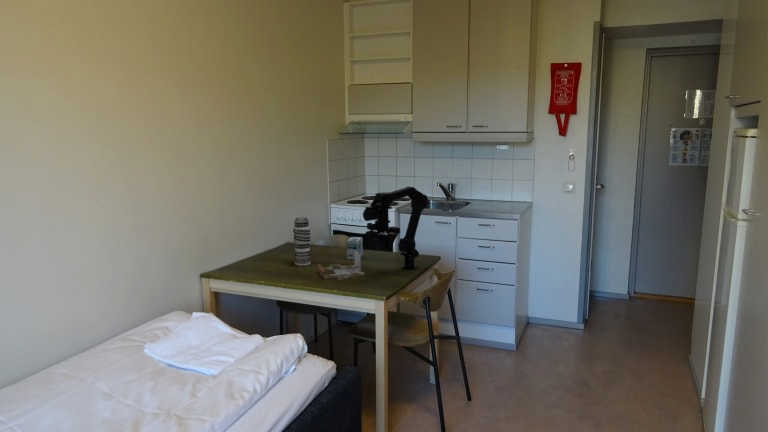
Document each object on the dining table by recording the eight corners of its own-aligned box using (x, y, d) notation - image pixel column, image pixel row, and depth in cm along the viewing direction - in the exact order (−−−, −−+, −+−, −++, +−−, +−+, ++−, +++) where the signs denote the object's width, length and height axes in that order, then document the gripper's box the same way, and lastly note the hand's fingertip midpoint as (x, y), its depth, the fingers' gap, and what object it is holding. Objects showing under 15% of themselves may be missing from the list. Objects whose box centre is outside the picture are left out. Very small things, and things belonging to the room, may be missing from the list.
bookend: (356, 269, 270) (356, 250, 268) (360, 274, 261) (360, 255, 259) (333, 271, 266) (333, 252, 265) (337, 276, 257) (336, 256, 256)
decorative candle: (290, 264, 279) (289, 218, 275) (301, 260, 288) (299, 215, 283) (304, 266, 275) (303, 219, 271) (314, 262, 283) (313, 217, 279)
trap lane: (356, 265, 276) (356, 259, 276) (366, 277, 255) (366, 270, 254) (316, 268, 270) (316, 262, 270) (324, 281, 249) (324, 274, 248)
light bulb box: (358, 260, 288) (358, 241, 287) (346, 259, 290) (346, 240, 288) (363, 255, 299) (362, 236, 297) (351, 254, 300) (351, 236, 298)
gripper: (386, 214, 269) (386, 243, 271) (357, 218, 257) (358, 249, 259) (400, 216, 260) (401, 247, 263) (372, 221, 248) (372, 253, 251)
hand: (383, 249), depth 259 cm, fingers open, 9 cm apart
